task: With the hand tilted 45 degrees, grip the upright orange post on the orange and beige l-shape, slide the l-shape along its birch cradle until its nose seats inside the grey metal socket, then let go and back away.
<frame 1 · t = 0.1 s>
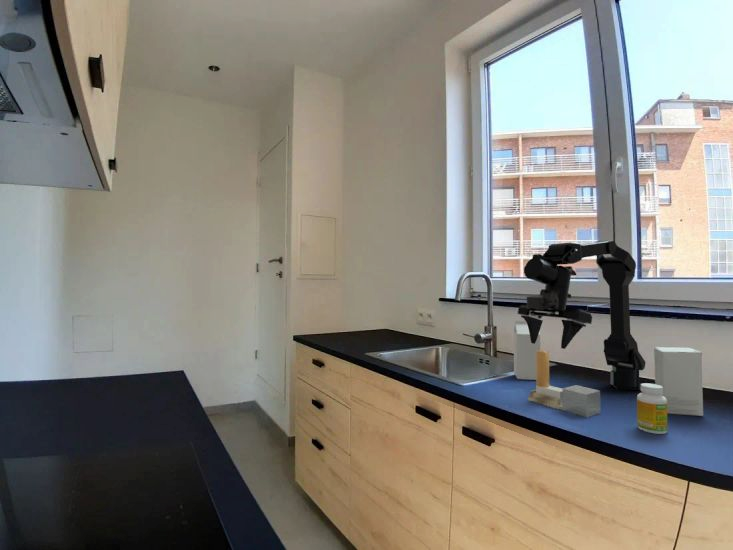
hand: (547, 345, 105), 15 cm above the worktop, tool pointing down, fingers open, 9 cm apart
supplement bottle: (652, 430, 87), on the worktop
milk carton: (526, 378, 134), on the worktop
socket: (581, 411, 99), on the worktop
cradle: (542, 400, 108), on the worktop
orange and beige l-shape: (550, 376, 106), point 7 cm above the worktop, slide at 0.0 cm
skincare box: (678, 412, 99), on the worktop
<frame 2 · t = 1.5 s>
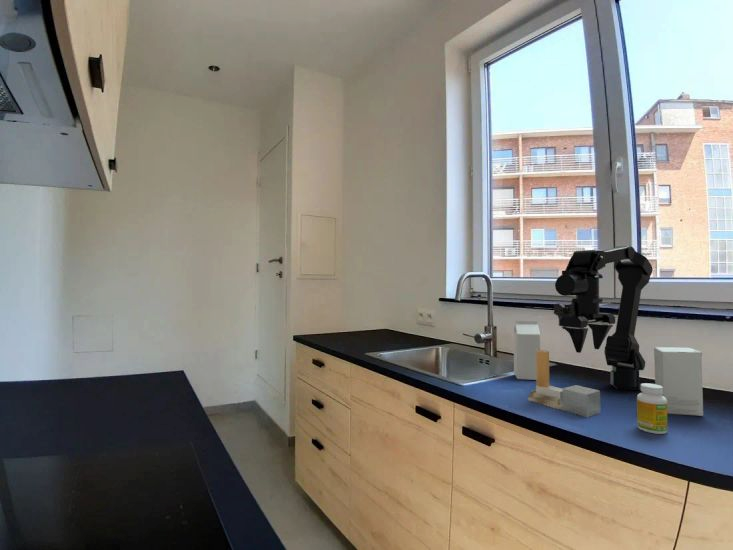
hand: (587, 350, 111), 13 cm above the worktop, tool pointing down, fingers open, 9 cm apart
nothing on the worktop moved.
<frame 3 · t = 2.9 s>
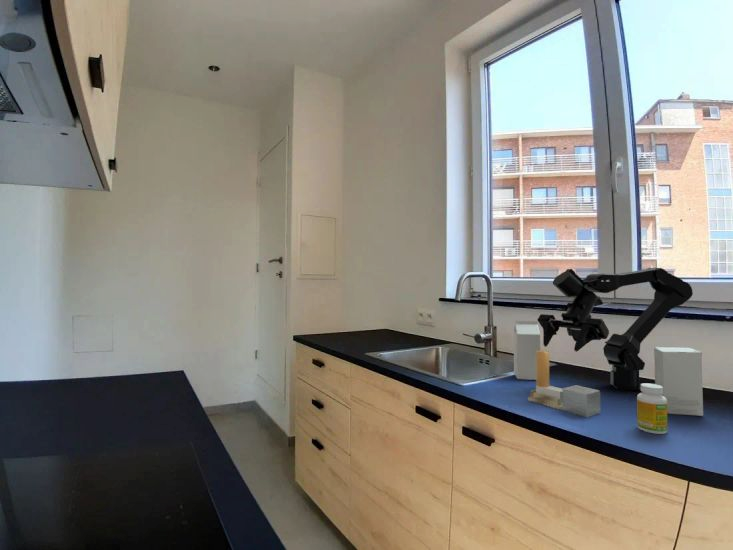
hand: (559, 348, 112), 14 cm above the worktop, tool tilted 45°, fingers open, 9 cm apart
nothing on the worktop moved.
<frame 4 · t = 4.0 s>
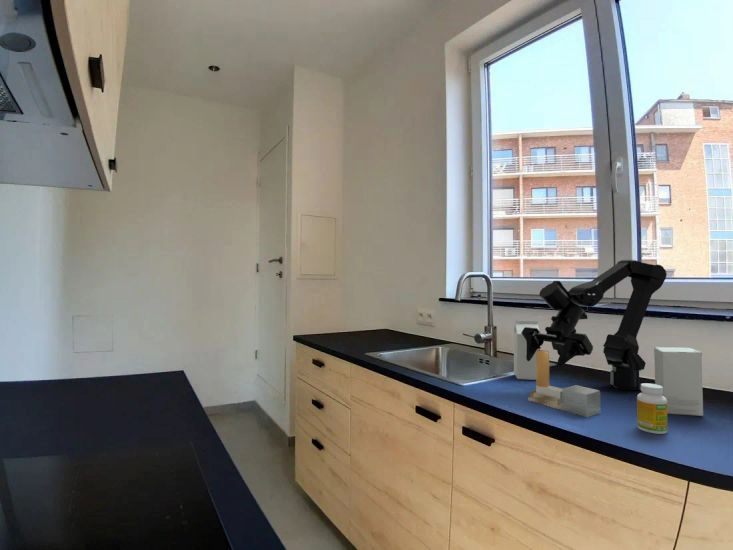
hand: (542, 363, 109), 10 cm above the worktop, tool tilted 45°, fingers open, 9 cm apart
nothing on the worktop moved.
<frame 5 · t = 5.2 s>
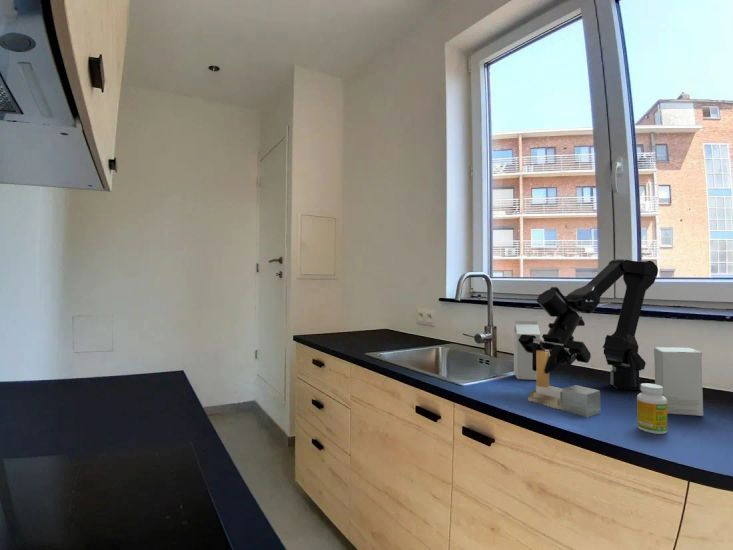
hand: (539, 371, 107), 8 cm above the worktop, tool tilted 45°, fingers closed on orange and beige l-shape, 3 cm apart
orange and beige l-shape: (550, 376, 106), point 7 cm above the worktop, slide at 0.0 cm, touching gripper
everything else where it was.
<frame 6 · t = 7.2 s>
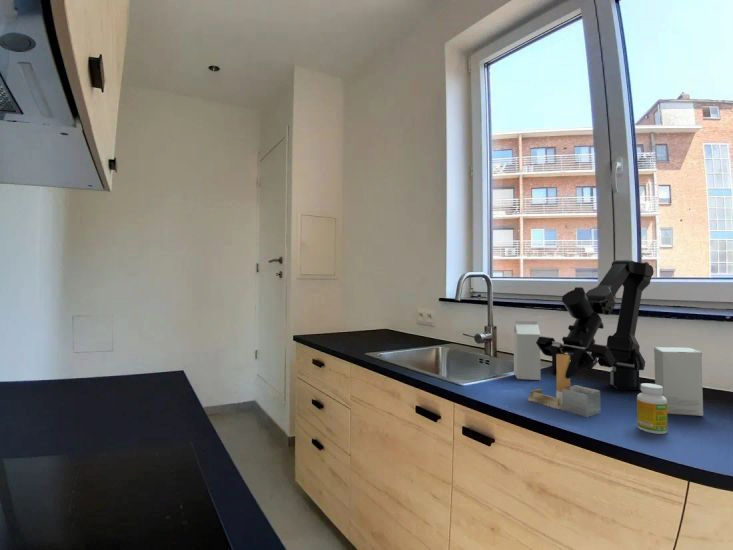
hand: (560, 376, 102), 8 cm above the worktop, tool tilted 45°, fingers closed on orange and beige l-shape, 3 cm apart
orange and beige l-shape: (571, 380, 101), point 7 cm above the worktop, slide at 5.9 cm, touching gripper
everything else where it was.
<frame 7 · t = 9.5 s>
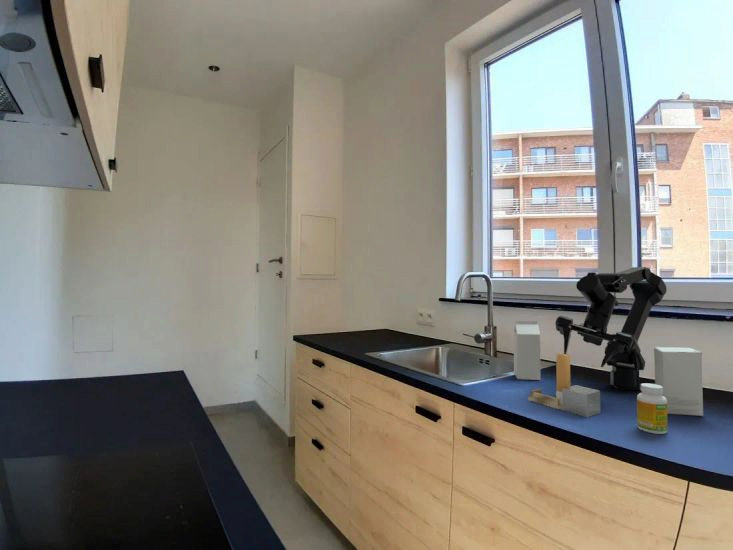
hand: (582, 360, 109), 11 cm above the worktop, tool tilted 35°, fingers open, 9 cm apart
orange and beige l-shape: (571, 380, 101), point 7 cm above the worktop, slide at 5.9 cm
everything else where it was.
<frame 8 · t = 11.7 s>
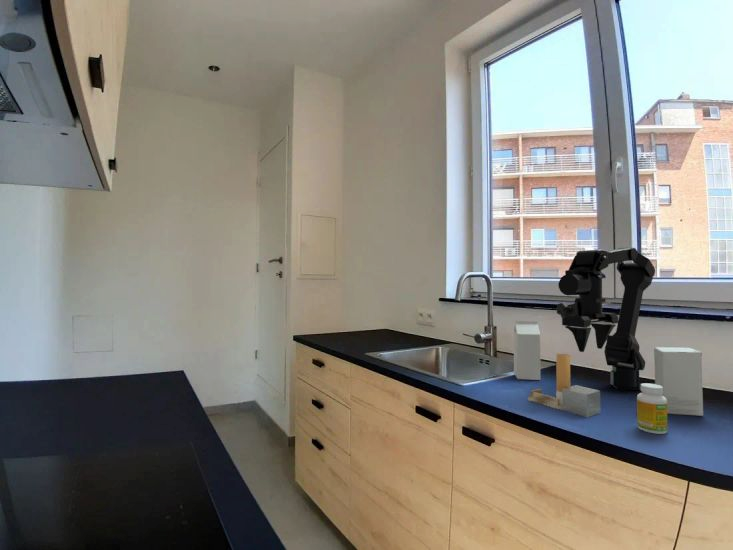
hand: (590, 350, 112), 13 cm above the worktop, tool pointing down, fingers open, 9 cm apart
nothing on the worktop moved.
at the end: orange and beige l-shape slide at 5.9 cm; the gripper is holding nothing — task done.
